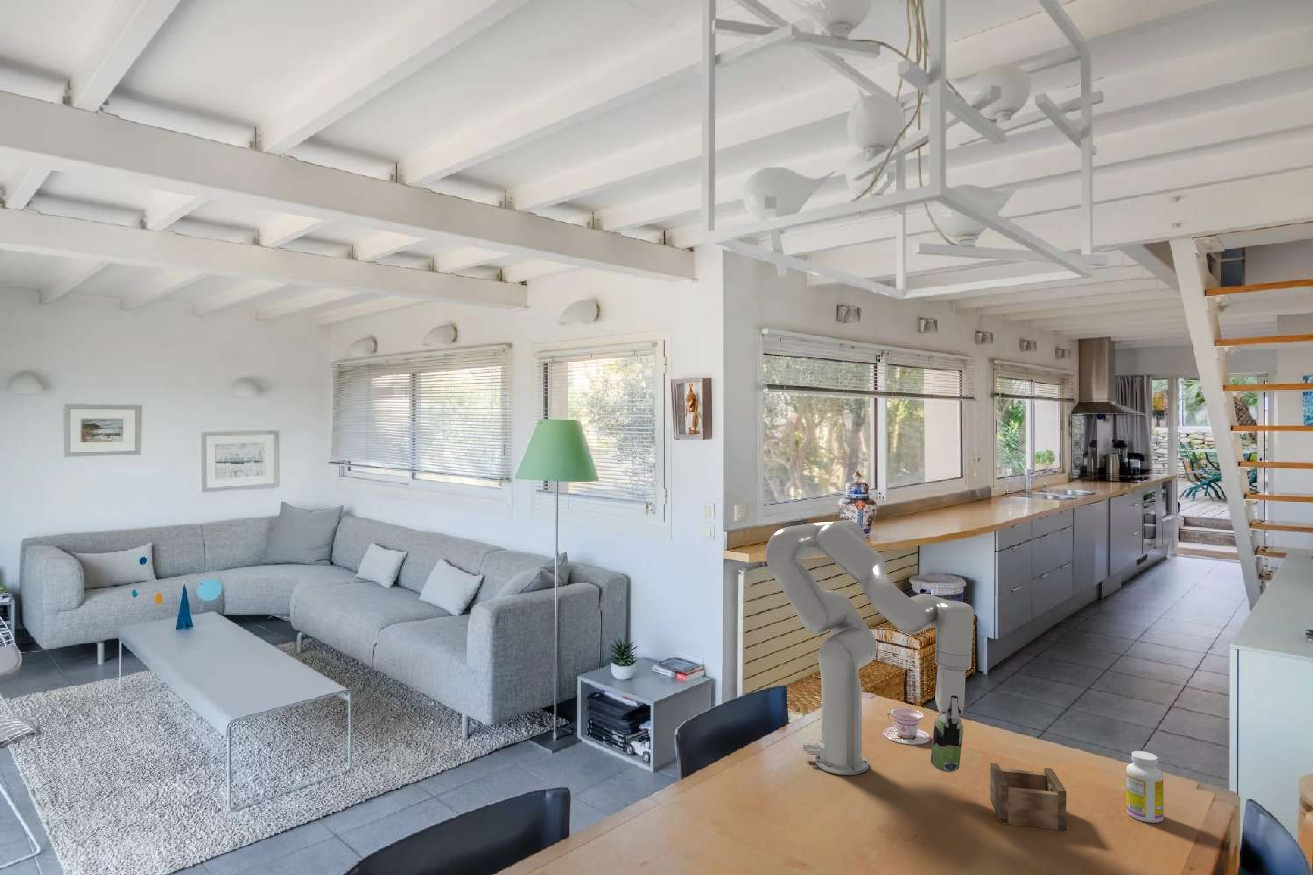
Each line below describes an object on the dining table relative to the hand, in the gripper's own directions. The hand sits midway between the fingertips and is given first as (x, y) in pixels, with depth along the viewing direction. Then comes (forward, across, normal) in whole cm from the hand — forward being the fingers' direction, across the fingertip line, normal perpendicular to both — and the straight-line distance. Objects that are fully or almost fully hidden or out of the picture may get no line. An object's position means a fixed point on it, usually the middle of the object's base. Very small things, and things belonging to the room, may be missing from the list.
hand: (948, 737), depth 171 cm
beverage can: (+7, 0, 0) cm, 8 cm away
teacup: (+14, -34, -6) cm, 37 cm away
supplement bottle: (+11, 0, +40) cm, 41 cm away
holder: (+12, +5, +16) cm, 20 cm away
